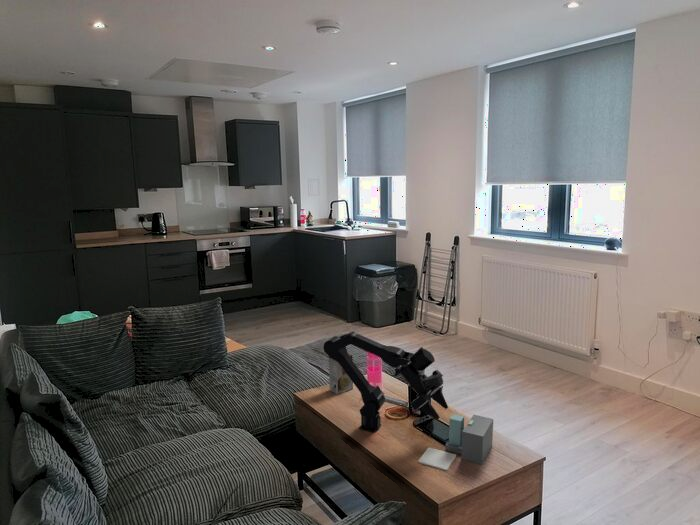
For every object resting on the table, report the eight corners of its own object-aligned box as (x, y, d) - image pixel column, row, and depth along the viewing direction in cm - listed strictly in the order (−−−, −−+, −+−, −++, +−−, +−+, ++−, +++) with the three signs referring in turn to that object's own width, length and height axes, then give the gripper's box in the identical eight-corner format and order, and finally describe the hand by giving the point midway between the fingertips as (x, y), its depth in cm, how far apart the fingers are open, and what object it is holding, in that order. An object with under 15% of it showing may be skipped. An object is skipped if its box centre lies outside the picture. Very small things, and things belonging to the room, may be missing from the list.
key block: (448, 447, 174) (449, 418, 173) (452, 442, 178) (453, 413, 176) (459, 450, 172) (460, 421, 171) (463, 445, 176) (464, 416, 174)
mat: (418, 462, 165) (418, 461, 165) (428, 448, 174) (428, 447, 174) (446, 470, 160) (447, 469, 160) (456, 456, 169) (456, 454, 169)
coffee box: (344, 384, 230) (344, 351, 227) (353, 389, 225) (353, 355, 222) (328, 390, 224) (328, 355, 221) (337, 394, 219) (337, 359, 216)
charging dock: (442, 454, 170) (443, 425, 169) (455, 436, 182) (456, 409, 181) (482, 464, 164) (483, 435, 162) (492, 445, 176) (493, 417, 174)
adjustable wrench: (416, 407, 207) (416, 403, 207) (407, 413, 202) (407, 409, 202) (368, 391, 223) (368, 388, 222) (359, 396, 218) (359, 392, 218)
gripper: (419, 374, 168) (450, 412, 164) (438, 357, 184) (466, 391, 180) (398, 392, 173) (427, 428, 169) (418, 374, 189) (445, 407, 185)
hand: (443, 413), depth 176 cm, fingers open, 9 cm apart
